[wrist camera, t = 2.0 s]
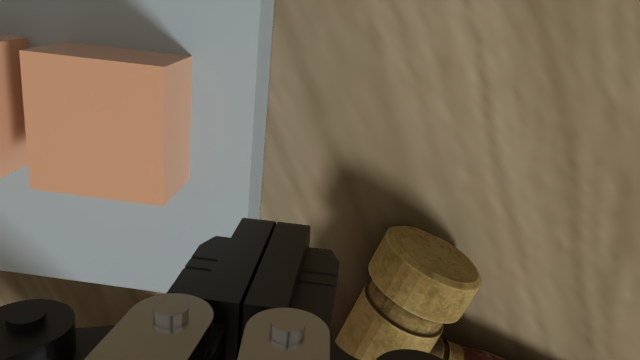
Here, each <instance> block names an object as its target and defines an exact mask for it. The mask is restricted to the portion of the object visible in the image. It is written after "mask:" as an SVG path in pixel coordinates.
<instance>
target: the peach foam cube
mask: <svg viewBox="0 0 640 360" xmlns="http://www.w3.org/2000/svg"><path fill="white" fill-rule="evenodd" d="M19 55H20V68H21V80H22V93H23V106H24V119H25V132H26V144H27V157H28V170H29V183H30V189H33V190H41V191H48V192H56V193H64V194H72V195H80V196H87V197H95V198H103V199H111V200H119V201H126V202H134V203H142V204H150V205H157V206H165V205H166V203H167V202H168V201H169V200H170V199H171V198H172V197H173V196H174V195H175V194H176V193H177V192H178V191H179V190H180V189H181V188H182V187H183V185H184V184H185V183H186V182H187V181H188V180H189V176H190V132H191V88H192V56H189V55H180V54H171V53H162V52H153V51H145V50H136V49H127V48H118V47H109V46H101V45H92V44H83V43H74V42H60V43H54V44H49V45H44V46H38V47H33V48H28V49H23V50H19Z"/></svg>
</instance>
